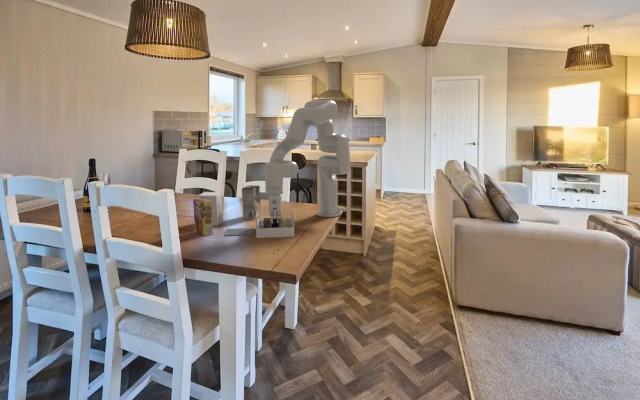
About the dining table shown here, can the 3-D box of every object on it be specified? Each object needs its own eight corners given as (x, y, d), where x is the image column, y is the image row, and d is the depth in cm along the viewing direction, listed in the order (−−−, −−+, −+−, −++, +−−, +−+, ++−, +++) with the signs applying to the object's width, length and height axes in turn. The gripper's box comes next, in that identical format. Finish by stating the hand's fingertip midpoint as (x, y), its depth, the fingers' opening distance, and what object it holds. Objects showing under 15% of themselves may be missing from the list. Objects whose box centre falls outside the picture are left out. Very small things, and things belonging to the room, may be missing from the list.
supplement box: (199, 226, 183) (197, 195, 180) (205, 221, 192) (203, 191, 188) (218, 226, 182) (216, 195, 179) (223, 221, 191) (222, 191, 188)
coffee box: (249, 214, 204) (248, 185, 201) (261, 215, 203) (260, 185, 199) (242, 219, 195) (241, 188, 192) (254, 219, 194) (253, 188, 191)
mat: (253, 228, 178) (253, 227, 178) (252, 235, 168) (252, 234, 168) (226, 229, 176) (226, 228, 176) (224, 236, 167) (224, 235, 167)
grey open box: (292, 226, 182) (291, 209, 180) (294, 236, 166) (294, 218, 164) (257, 227, 180) (257, 211, 178) (256, 237, 164) (255, 219, 162)
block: (286, 229, 176) (285, 217, 175) (286, 233, 171) (286, 220, 170) (264, 230, 175) (263, 218, 173) (263, 233, 170) (263, 220, 168)
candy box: (213, 234, 170) (211, 200, 167) (205, 236, 167) (202, 201, 164) (203, 230, 176) (201, 197, 173) (194, 232, 173) (192, 199, 170)
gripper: (283, 193, 161) (284, 235, 165) (282, 187, 178) (282, 224, 181) (265, 194, 160) (266, 236, 164) (265, 187, 177) (266, 225, 180)
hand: (275, 229), depth 173 cm, fingers closed on block, 5 cm apart
